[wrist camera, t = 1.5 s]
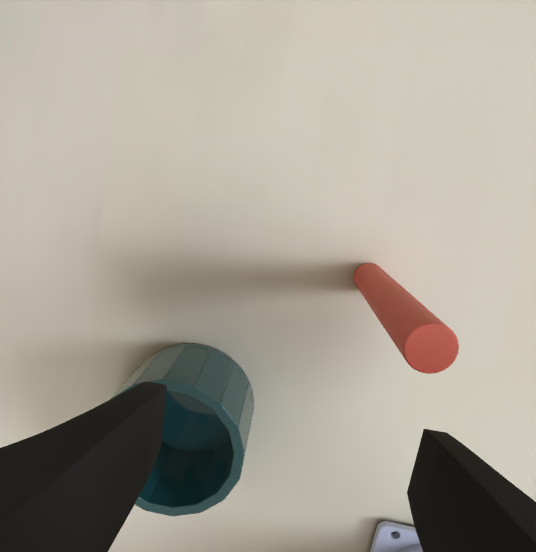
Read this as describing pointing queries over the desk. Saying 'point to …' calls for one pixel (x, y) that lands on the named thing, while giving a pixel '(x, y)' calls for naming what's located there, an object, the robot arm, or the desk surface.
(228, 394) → the cup
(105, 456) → the robot arm
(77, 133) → the desk surface
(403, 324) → the red cylinder rod
